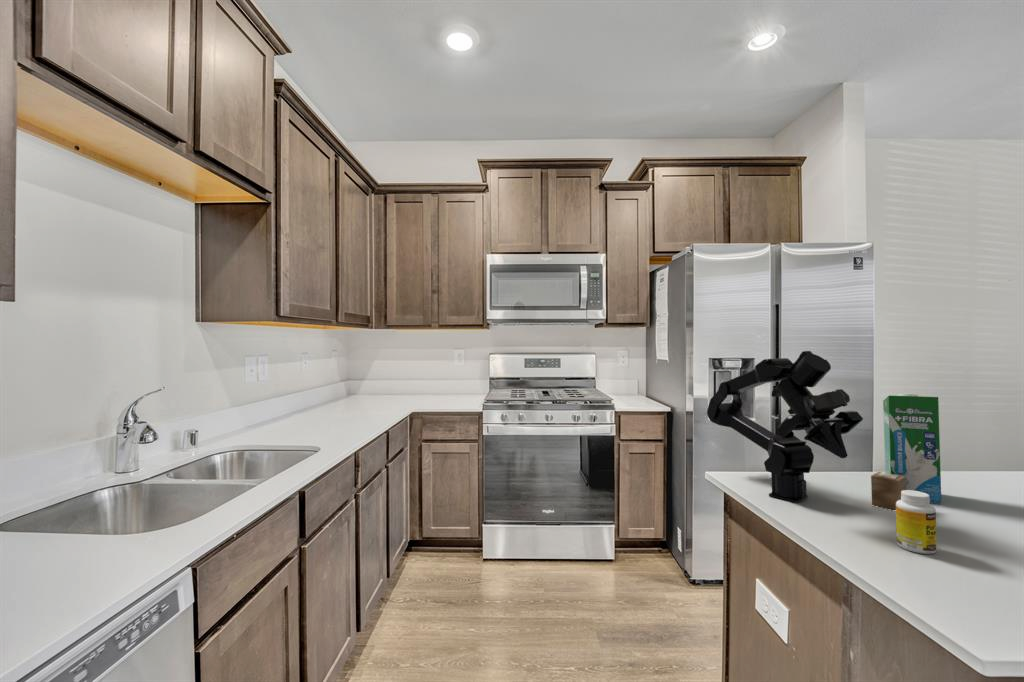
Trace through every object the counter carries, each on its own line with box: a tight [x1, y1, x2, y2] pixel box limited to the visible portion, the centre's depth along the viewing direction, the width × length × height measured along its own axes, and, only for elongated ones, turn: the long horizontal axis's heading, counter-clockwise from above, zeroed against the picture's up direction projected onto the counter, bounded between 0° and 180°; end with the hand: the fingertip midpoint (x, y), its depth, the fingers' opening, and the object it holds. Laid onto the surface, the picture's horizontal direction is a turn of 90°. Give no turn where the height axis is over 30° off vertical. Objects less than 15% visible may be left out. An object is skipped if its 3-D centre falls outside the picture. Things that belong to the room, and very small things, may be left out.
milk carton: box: [882, 393, 942, 504], centre depth 112 cm, size 9×9×25 cm
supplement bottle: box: [895, 490, 937, 555], centre depth 84 cm, size 6×6×10 cm
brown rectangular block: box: [870, 471, 906, 511], centre depth 105 cm, size 5×5×7 cm
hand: (844, 457), depth 98 cm, fingers closed
